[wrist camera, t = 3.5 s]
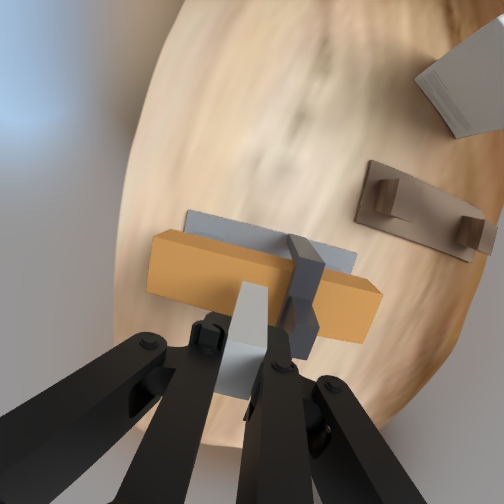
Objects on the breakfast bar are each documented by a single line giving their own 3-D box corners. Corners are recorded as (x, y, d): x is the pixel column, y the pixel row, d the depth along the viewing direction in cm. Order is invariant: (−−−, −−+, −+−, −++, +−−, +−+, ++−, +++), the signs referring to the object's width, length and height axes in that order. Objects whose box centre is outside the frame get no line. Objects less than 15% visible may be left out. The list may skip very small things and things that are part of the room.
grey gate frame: (288, 233, 24) (308, 275, 12) (306, 237, 24) (340, 283, 12) (268, 303, 26) (267, 388, 14) (285, 307, 26) (295, 393, 14)
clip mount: (189, 209, 25) (174, 213, 21) (355, 252, 25) (372, 265, 20) (177, 273, 26) (161, 289, 22) (334, 313, 26) (345, 334, 22)
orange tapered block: (171, 228, 21) (153, 236, 17) (367, 279, 21) (383, 294, 17) (163, 276, 22) (146, 291, 18) (350, 323, 22) (362, 343, 18)
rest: (370, 160, 23) (389, 155, 19) (482, 212, 23) (507, 217, 18) (354, 221, 24) (371, 228, 20) (469, 261, 24) (492, 272, 20)
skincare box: (479, 116, 20) (573, 96, 5) (453, 142, 22) (563, 127, 6) (437, 57, 19) (519, 4, 4) (408, 78, 20) (499, 15, 5)
